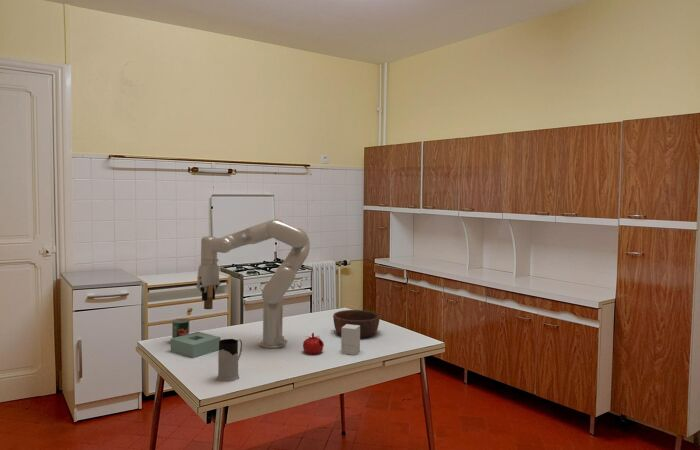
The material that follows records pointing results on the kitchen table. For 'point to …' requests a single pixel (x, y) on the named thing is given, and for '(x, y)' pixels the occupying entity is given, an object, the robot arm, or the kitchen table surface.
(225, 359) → the grey pitcher
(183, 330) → the canned tomato
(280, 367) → the kitchen table surface
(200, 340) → the socket block
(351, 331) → the supplement box
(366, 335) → the wooden bowl
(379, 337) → the kitchen table surface
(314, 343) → the pomegranate
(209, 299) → the walnut peg
